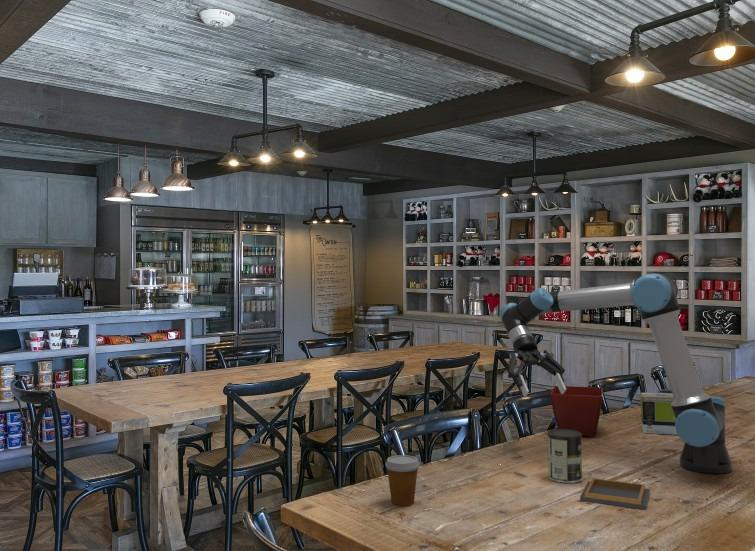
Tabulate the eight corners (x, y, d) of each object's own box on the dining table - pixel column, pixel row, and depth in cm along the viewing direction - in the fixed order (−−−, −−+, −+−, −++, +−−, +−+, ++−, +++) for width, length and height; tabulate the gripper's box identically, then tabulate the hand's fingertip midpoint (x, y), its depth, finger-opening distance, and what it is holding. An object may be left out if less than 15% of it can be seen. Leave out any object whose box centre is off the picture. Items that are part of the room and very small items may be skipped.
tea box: (681, 430, 261) (681, 393, 261) (684, 436, 252) (684, 397, 252) (641, 427, 266) (640, 391, 266) (642, 433, 257) (641, 395, 257)
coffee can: (580, 474, 206) (580, 429, 206) (584, 484, 196) (583, 437, 196) (546, 472, 208) (546, 428, 208) (548, 482, 198) (548, 436, 198)
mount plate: (649, 492, 188) (649, 484, 188) (645, 509, 175) (645, 501, 175) (588, 484, 196) (588, 477, 196) (580, 500, 182) (580, 492, 182)
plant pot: (550, 436, 253) (549, 393, 253) (554, 425, 271) (554, 385, 271) (602, 440, 247) (602, 396, 246) (603, 429, 264) (603, 387, 264)
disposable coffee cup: (409, 510, 176) (408, 466, 176) (379, 504, 181) (378, 461, 181) (425, 500, 184) (425, 457, 184) (396, 494, 189) (396, 452, 189)
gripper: (550, 347, 233) (574, 397, 219) (486, 349, 226) (506, 401, 212) (558, 333, 228) (583, 384, 213) (493, 336, 221) (514, 388, 207)
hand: (545, 392), depth 213 cm, fingers open, 13 cm apart
